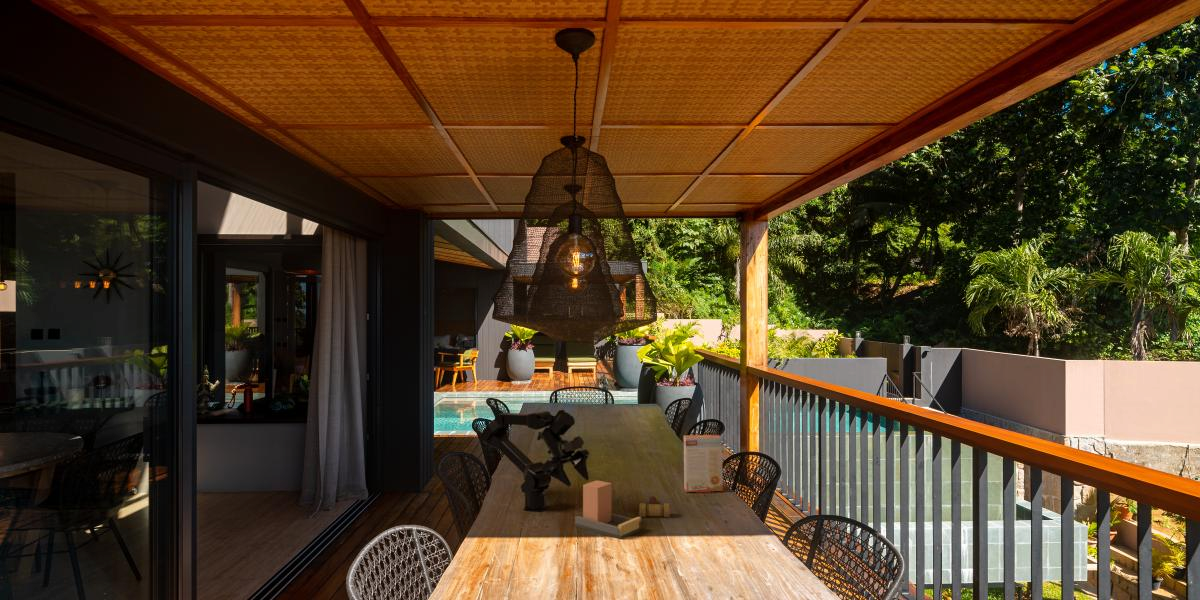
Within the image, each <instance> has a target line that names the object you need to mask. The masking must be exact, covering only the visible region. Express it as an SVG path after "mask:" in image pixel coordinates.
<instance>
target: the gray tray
mask: <svg viewBox="0 0 1200 600" xmlns="http://www.w3.org/2000/svg"><path fill="white" fill-rule="evenodd" d="M574 527H576V528H580V529H582V530H583V529H584V530H587V531H590V532H594V533H597V534H601V535H604V536H605V535H606V536H608V537H612V538H616V539H618V540H619V539H620V540H623V539H625V538H627V537H629V536H632V535H634V534H636V533H638V532H640V531H642V517H640V516H636V517H634V518H632V517H629V516H624V515H620V514H617V513H612V512H611V521H610V522H608V523H602V522H598V521H595V520H591V519H587V518H583V516H579V515H576V516H574Z"/></svg>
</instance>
